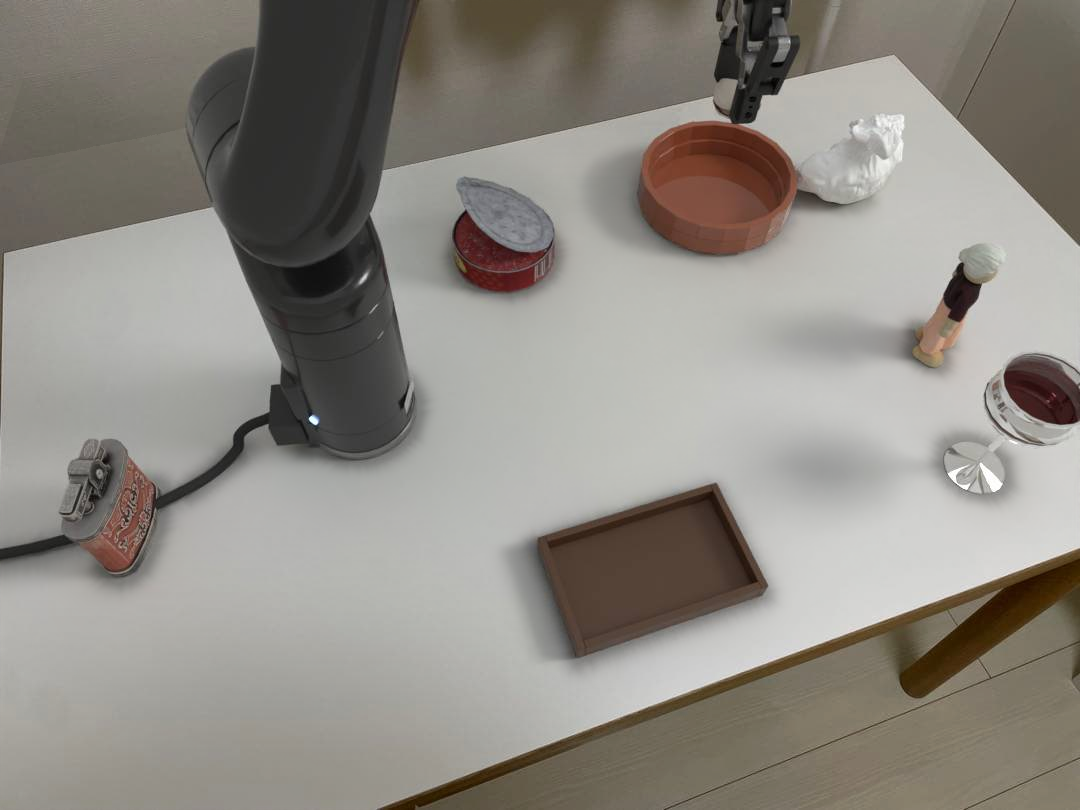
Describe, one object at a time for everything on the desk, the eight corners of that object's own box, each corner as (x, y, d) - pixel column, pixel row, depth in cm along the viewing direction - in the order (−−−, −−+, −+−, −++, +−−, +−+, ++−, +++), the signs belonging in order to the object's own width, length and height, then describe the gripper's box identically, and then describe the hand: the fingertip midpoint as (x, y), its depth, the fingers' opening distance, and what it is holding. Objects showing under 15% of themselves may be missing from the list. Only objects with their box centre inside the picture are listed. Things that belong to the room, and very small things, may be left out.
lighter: (128, 483, 69) (72, 420, 61) (169, 484, 69) (119, 421, 61) (97, 577, 65) (33, 522, 57) (141, 578, 65) (83, 524, 57)
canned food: (477, 254, 89) (482, 159, 84) (566, 274, 87) (577, 177, 82) (426, 288, 80) (428, 183, 75) (524, 311, 77) (533, 204, 72)
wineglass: (1013, 514, 69) (1097, 440, 59) (928, 488, 70) (996, 411, 60) (1018, 446, 72) (1098, 365, 62) (937, 422, 73) (1002, 339, 63)
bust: (787, 221, 89) (850, 203, 78) (769, 150, 88) (830, 121, 77) (884, 193, 92) (958, 171, 81) (867, 123, 91) (940, 92, 80)
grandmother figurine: (953, 379, 76) (1023, 287, 65) (909, 372, 76) (972, 279, 66) (948, 314, 80) (1013, 216, 69) (907, 307, 80) (965, 209, 70)
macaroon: (721, 130, 74) (727, 106, 71) (697, 95, 76) (702, 71, 74) (765, 120, 74) (773, 96, 72) (740, 86, 77) (746, 62, 75)
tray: (576, 658, 62) (578, 650, 60) (536, 547, 67) (537, 537, 65) (762, 595, 65) (768, 586, 63) (712, 493, 69) (716, 481, 68)
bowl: (652, 263, 83) (657, 234, 80) (625, 156, 91) (629, 125, 88) (804, 250, 84) (816, 222, 81) (765, 146, 92) (773, 115, 89)
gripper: (710, -148, 64) (674, 53, 78) (760, -43, 56) (710, 158, 70) (806, -152, 64) (753, 48, 79) (868, -48, 57) (797, 152, 71)
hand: (733, 99), depth 74 cm, fingers closed on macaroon, 5 cm apart
